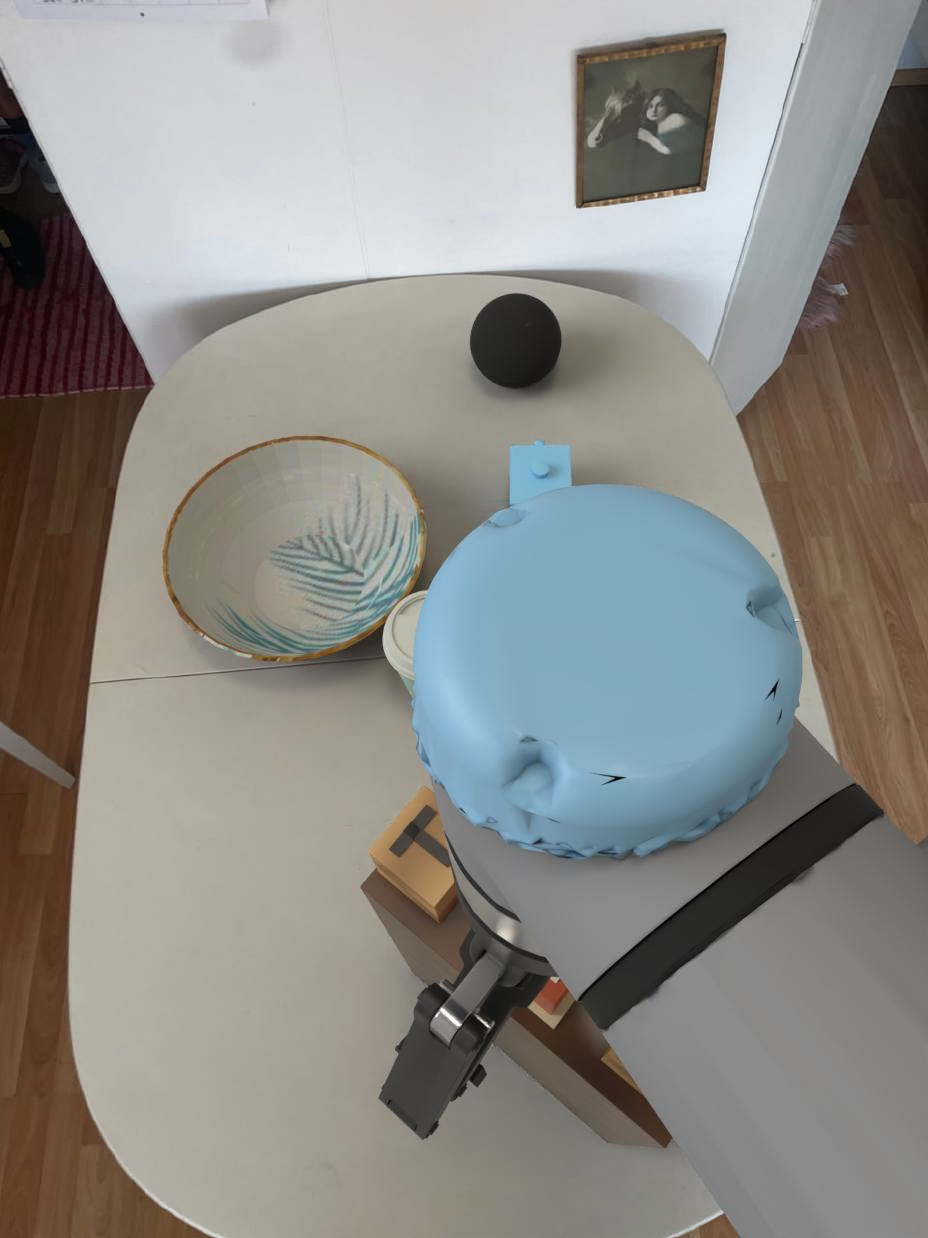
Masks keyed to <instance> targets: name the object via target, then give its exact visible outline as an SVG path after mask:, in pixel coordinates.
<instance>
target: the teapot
mask: <svg viewBox="0 0 928 1238" xmlns="http://www.w3.org/2000/svg"><path fill="white" fill-rule="evenodd" d="M533 442H534V444H533V445H532V444H530V445H527V444H526V445H509V507H511V506H514V505H516V504H518V503H520V502H523V501H525V500H527V499H530V498H532V497H534V496H537V495H539V494H542V493H545V492H548V491H552V490H556V489H560V488H565V487H572V483H573V482H572V457H571V445H570V444H546V441H545V440H543V439H536V440H534V441H533Z"/></svg>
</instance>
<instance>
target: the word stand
mask: <svg viewBox="0 0 928 1238" xmlns="http://www.w3.org/2000/svg"><path fill="white" fill-rule="evenodd" d="M367 852H368V854H369V856H370V858H371V861H372V862H373V864H374V866H375V868H374V869H373V871H372V872H371V873H370V874H369V875H368V876H367V877H366V879H365V880H364V881H363V882H362V883H361V885H360V886H359V888H360V890H361V891H362V893H363V895H364V896H365V899H366V900H367V901H368V903H369V905H370V906H371V908H372V909H373V911H374V912H375V914H376V916H377V917H378V919H379V921H380V923H381V924H382V925H383V927H384V929H385V930H386V932H387V934H388V935H389V937H390V938H391V940H392V942H393V943H394V944H395V946H396V948H397V950H398V951H399V953H400V955H401V956H402V958H403V960H404V961H405V963H406V964H407V966H408V967H409V969H410V971H411V972H412V974H414V975H415V976H416V977H418V979H419V980H420V981H422V983H424V984H425V985H426V986H427V987H428V986H429V985H432V984H433V983H434V982H436V983H437V984H439V982H440V981H441V980H442V979H443V978H446V979H447V980H448V981H449V982H450V983H451V984H454V982H455V980H456V979H457V977H458V975H459V973H460V972H461V970H462V968H463V966H464V964H463V961H462V958H461V956H460V952H459V950H460V946H461V945H462V943H463V941H464V939H465V938H466V936H467V934H468V932H469V931H470V929H471V926H470V924H469V922H468V920H467V918H466V916H465V914H464V912H463V910H462V907H461V905H460V902H459V899H458V895H457V892H456V887H455V883H454V878H453V873H452V869H451V864H450V857H449V853H448V849H447V844H446V840H445V835H444V831H443V826H442V822H441V818H440V814H439V810H438V806H437V802H436V798H435V794H434V791H432V790H431V789H430V788H428V786H427V785H423V786H422V787H421V788H420V790H419V791H418V792H417V793H416V794H415V795H414V797H413V798H412V799H411V800H410V802H408V804H407V805H405V807H404V808H403V809H402V810H401V812H399V814H398V815H397V816H396V817H395V819H394V820H393V821H392V822H391V824H389V826H388V827H387V828H385V830H384V832H383V833H381V835H380V836H379V837H378V838H377V840H376V841H375V842H374V843H373V844H372V846H371V847H370V848H369V849H368V851H367ZM603 1031H604V1030H603V1029H599V1028H598V1027H597V1025H596V1024H595V1022H594V1021H593V1020H592V1018H591V1017H590V1015H589V1014H588V1012H587V1011H586V1009H585V1008H584V1006H583V1005H582V1003H581V1001H580V1002H577V1001H576V999H575V998H574V997H573V995H572V994H571V993H570V991H569V992H568V993H567V995H566V996H565V998H564V999H563V1000H562V1002H561V1003H560V1004H559V1006H558V1007H557V1009H556V1010H555V1011H554V1013H553V1014H552V1015H549V1014H548V1013H547V1012H546V1011H545V1010H543V1009H542V1008H541V1007H540V1006H539V1005H538V1004H536V1003H535V1002H534V1001H533V1002H532V1003H531V1004H530V1005H529V1006H528V1007H527V1008H519V1007H515V1009H514V1011H513V1012H512V1014H511V1015H510V1017H509V1018H508V1020H507V1021H506V1023H505V1025H504V1026H503V1028H502V1029H501V1031H500V1032H499V1034H498V1035H497V1037H496V1039H495V1040H494V1042H493V1043H492V1044H494V1045H495V1046H496V1047H497V1048H498V1049H499V1050H501V1052H503V1054H505V1055H506V1056H507V1057H508V1058H509V1059H511V1061H513V1062H514V1063H515V1064H517V1065H518V1067H520V1068H521V1069H522V1070H523V1071H525V1072H526V1073H527V1075H529V1076H530V1077H532V1079H534V1080H535V1081H536V1082H537V1083H538V1084H539V1085H540V1086H542V1087H543V1088H544V1089H546V1091H547V1092H548V1093H550V1094H551V1096H553V1097H554V1098H555V1099H556V1100H558V1101H559V1102H560V1103H561V1104H563V1105H564V1107H566V1108H567V1109H568V1110H569V1111H570V1112H571V1113H573V1114H574V1115H575V1116H576V1117H577V1118H578V1119H580V1120H581V1122H583V1124H585V1125H586V1126H587V1127H589V1128H590V1129H591V1130H592V1131H593V1132H595V1134H597V1135H598V1136H599V1137H600V1138H601V1139H602V1140H603V1141H604V1142H605V1143H607V1144H614V1145H625V1146H634V1147H643V1148H652V1149H663V1150H666V1149H667V1148H668V1146H669V1144H670V1143H671V1142H672V1141H673V1137H672V1136H671V1134H670V1133H669V1131H668V1130H667V1128H666V1127H665V1125H664V1124H663V1122H662V1121H661V1119H660V1118H659V1117H658V1115H657V1114H656V1112H655V1111H654V1109H653V1108H652V1106H651V1105H650V1103H649V1102H648V1100H647V1099H646V1097H645V1096H644V1094H643V1093H642V1091H641V1090H640V1089H639V1087H638V1086H637V1084H636V1083H635V1081H634V1080H633V1078H632V1077H631V1075H630V1074H629V1072H628V1071H627V1069H626V1068H625V1066H624V1065H623V1063H622V1062H621V1060H620V1059H619V1058H618V1056H617V1055H616V1053H615V1052H614V1050H613V1049H612V1047H611V1046H610V1044H609V1043H608V1041H607V1040H606V1038H605V1037H604V1035H603V1034H602V1033H603Z"/></svg>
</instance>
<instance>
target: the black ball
mask: <svg viewBox="0 0 928 1238" xmlns="http://www.w3.org/2000/svg"><path fill="white" fill-rule="evenodd" d="M557 318H558V317H557V316H556V315H555V313H554V312H553V310H552V309H551V308H550V307H549V306H548V304H546V303H545V302H543V300H541V299H540V298H537V297H535V296H533V295H530V294H527V293H520V292H512V293H506V294H503V295H500V296H497V297H495V298H493V299H492V300H490V301H489V302H488V303H486V305H484V306H483V307H482V308H481V310H480V311H479V312H478V313H477V315H476V318H474V321H473V324H472V326H471V330H470V335H469V348H470V353H471V357H472V359H473V362H474V365H475V366H476V368H477V369H478V371H479V372H480V373H481V375H483V376H484V377H485V379H487V380H488V381H490V382H491V383H493V384H496V385H497V386H499V387H502V388H506V389H523V388H528V387H531V386H534V385H536V384H537V383H539V382H541V381H542V380H544V379H545V378H546V377H547V376H548V375H549V374H550V373H551V372H552V371H553V369H554V367H555V365H556V364H557V362H558V360H559V357H560V354H561V351H562V344H563V343H562V341H563V338H562V337H563V336H562V330H561V326H560V323H559V321H558V319H557Z"/></svg>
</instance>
